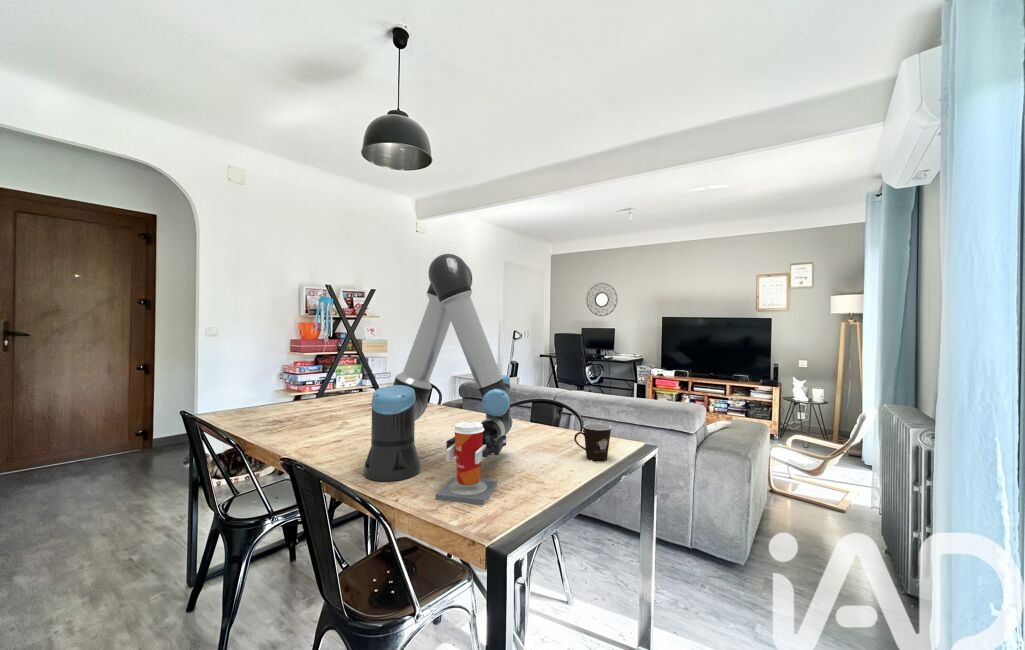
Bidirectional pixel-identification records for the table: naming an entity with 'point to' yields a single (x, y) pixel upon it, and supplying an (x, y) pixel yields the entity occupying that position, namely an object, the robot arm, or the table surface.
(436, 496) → the coaster
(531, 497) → the table surface
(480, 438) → the paper cup
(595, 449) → the coffee mug
